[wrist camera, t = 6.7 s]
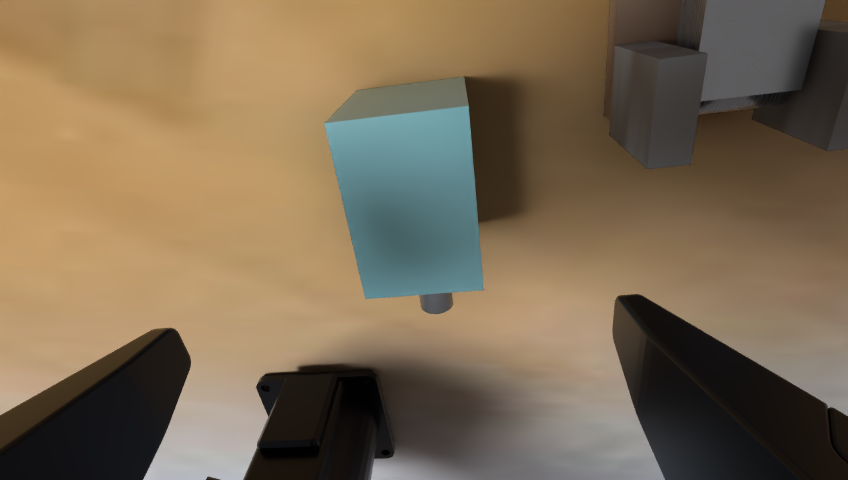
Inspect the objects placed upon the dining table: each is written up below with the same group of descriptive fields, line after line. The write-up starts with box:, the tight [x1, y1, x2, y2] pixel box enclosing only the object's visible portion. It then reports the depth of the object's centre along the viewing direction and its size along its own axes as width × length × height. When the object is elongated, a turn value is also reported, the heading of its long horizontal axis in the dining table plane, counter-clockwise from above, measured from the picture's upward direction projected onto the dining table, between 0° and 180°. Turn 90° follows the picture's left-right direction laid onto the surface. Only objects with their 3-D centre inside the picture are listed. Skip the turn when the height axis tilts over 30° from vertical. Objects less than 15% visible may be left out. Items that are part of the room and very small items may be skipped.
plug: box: [324, 77, 484, 314], centre depth 17 cm, size 9×4×5 cm, turn 7°
